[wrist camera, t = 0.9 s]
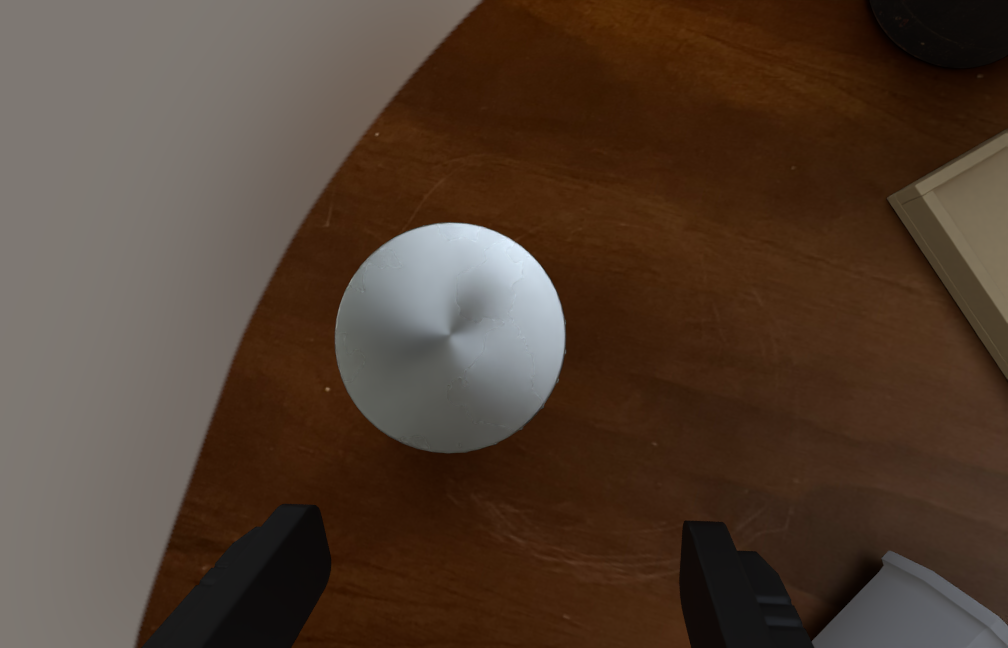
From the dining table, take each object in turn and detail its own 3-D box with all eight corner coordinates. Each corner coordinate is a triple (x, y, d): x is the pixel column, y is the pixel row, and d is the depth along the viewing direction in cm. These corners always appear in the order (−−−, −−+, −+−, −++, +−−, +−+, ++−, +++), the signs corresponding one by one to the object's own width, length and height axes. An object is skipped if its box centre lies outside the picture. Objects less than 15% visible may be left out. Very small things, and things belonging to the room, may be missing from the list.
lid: (317, 300, 14) (290, 290, 12) (496, 202, 14) (495, 178, 13) (415, 484, 14) (402, 501, 12) (599, 378, 14) (612, 379, 12)
